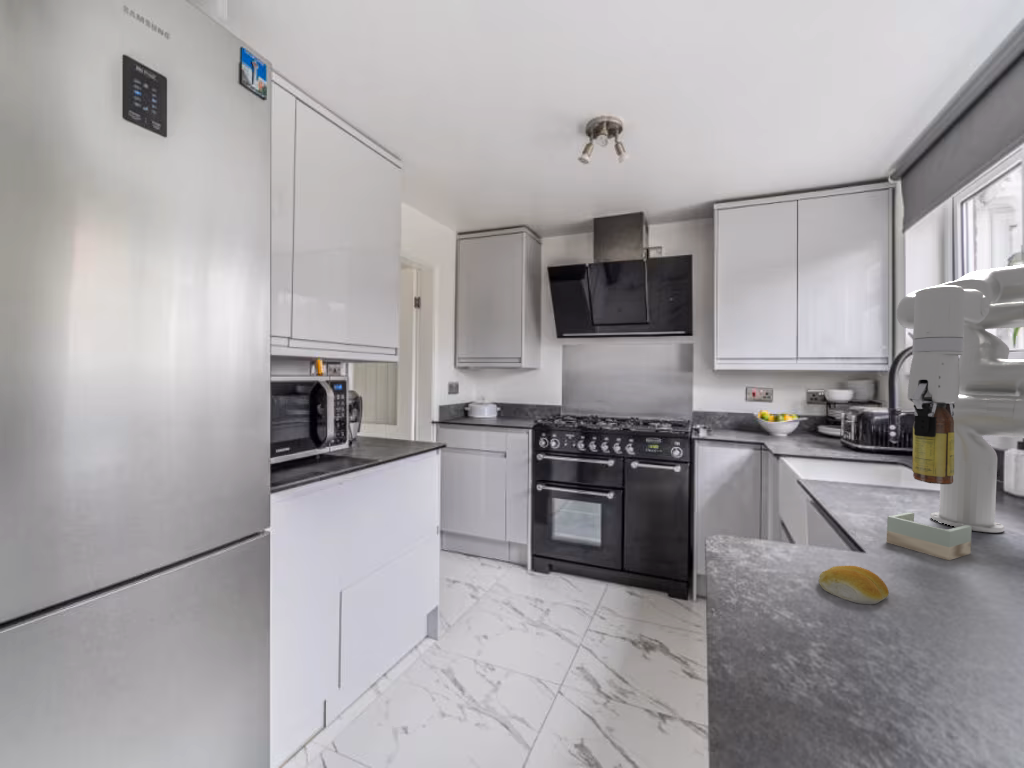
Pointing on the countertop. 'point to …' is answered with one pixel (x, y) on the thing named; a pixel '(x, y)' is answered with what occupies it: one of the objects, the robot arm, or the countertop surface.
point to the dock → (928, 537)
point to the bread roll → (854, 584)
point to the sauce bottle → (935, 450)
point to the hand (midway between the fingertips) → (933, 435)
